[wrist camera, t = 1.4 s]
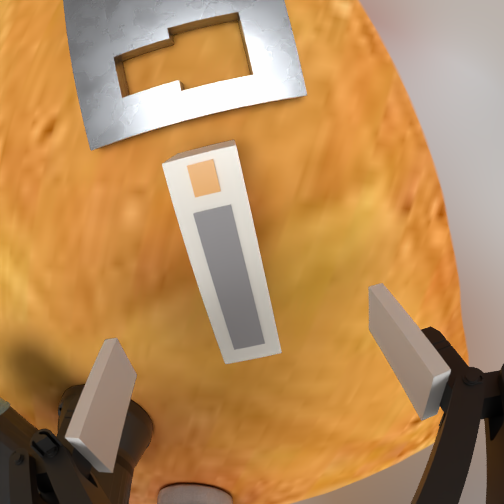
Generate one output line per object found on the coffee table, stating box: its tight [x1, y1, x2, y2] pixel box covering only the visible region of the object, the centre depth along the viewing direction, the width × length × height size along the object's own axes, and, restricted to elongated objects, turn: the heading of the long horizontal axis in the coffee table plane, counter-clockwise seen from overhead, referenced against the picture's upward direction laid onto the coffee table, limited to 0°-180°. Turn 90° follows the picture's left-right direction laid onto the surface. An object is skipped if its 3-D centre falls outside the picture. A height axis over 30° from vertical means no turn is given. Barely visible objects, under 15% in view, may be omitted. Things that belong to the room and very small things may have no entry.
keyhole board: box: [63, 0, 307, 150], centre depth 21 cm, size 19×23×2 cm
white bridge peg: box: [162, 140, 282, 364], centre depth 26 cm, size 5×16×10 cm, turn 12°
